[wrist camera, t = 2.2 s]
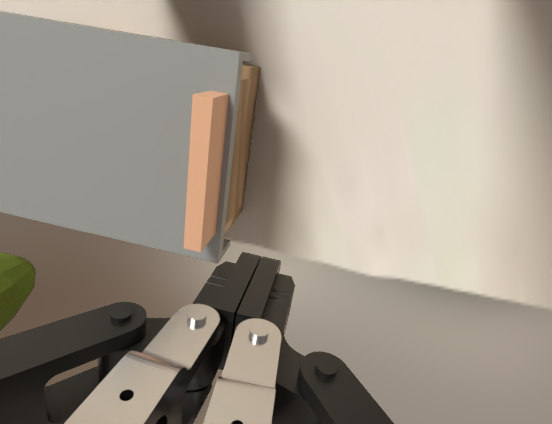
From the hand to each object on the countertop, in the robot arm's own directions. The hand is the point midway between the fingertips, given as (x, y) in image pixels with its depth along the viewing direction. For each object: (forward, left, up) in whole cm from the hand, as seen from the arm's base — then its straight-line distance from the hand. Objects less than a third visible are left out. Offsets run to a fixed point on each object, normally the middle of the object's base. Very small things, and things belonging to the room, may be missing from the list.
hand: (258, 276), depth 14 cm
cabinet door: (+14, 0, -15) cm, 21 cm away
